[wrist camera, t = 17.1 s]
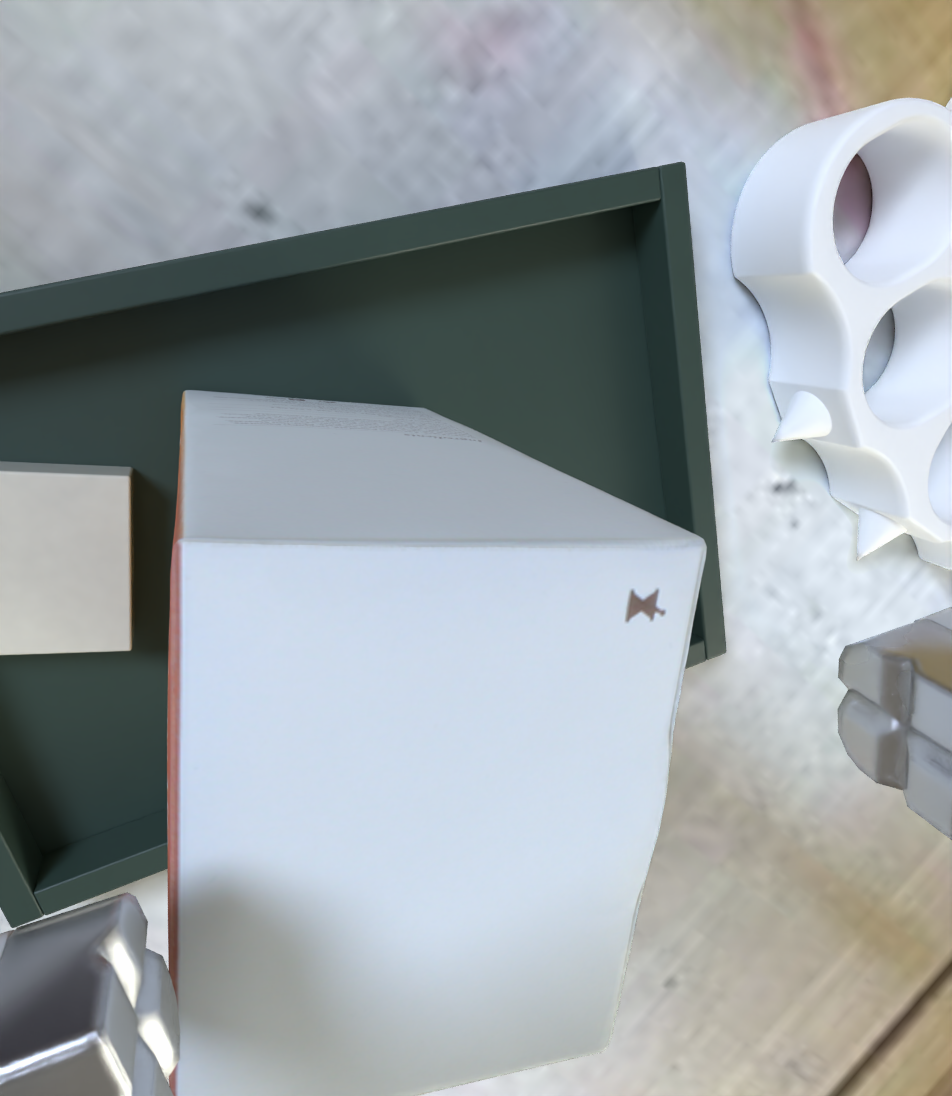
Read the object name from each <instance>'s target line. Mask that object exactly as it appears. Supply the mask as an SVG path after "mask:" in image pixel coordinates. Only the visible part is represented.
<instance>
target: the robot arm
mask: <svg viewBox="0 0 952 1096" xmlns="http://www.w3.org/2000/svg"><path fill="white" fill-rule="evenodd" d="M838 678H839V679H840V680H841V681H842V682H843V683H844V685H845V686H846V687H847V688H848V691H847V693H846V695H845V697H844V699H843V700H842V702H841V704H840V706H839V708H838V733H839V736H840V738H841V740H842V743H843V745H844V747H845V750H846V752H847V754H848V756H849V757H850V758H851V759H852V761H853V762H854V763H855V764H856V766H857V767H858V768H859V769H860V770H861V771H862V772H863V773H865V774H866V775H867V776H869V777H870V778H871V779H872V780H874V781H875V782H876V783H879V784H883V785H886V786H890V787H893V788H897V789H900V790H903V793H904V796H905V800H906V803H907V807H909V808H910V809H911V810H913V811H914V812H915V813H917V814H918V815H919V816H921V817H922V818H923V819H925V820H926V821H927V822H929V823H930V824H931V825H932V826H934V827H935V828H936V829H938V830H939V831H940V832H942V833H943V834H944V835H946V836H947V837H948V838H950V839H951V840H952V608H947V609H944V610H942V611H939V612H936V613H934V614H931V615H928V616H926V617H923V618H920V619H918V620H915V621H914V622H913V623H911V624H907V625H905V626H902V627H899V628H896V629H893V630H890V631H887V632H885V633H882V634H879V635H876V636H873V637H870V638H867V639H865V640H862V641H859V642H856V643H853V644H850V645H847V646H845V648H844V650H843V652H842V654H841V656H840V658H839V673H838ZM147 925H148V921H147V919H146V917H145V915H144V913H143V911H142V909H141V907H140V905H139V903H138V900H137V898H136V897H135V896H133V895H131V894H129V893H128V892H127V893H124V894H121V895H118V896H114V897H111V898H108V899H105V900H102V901H99V902H96V903H93V904H89V905H86V906H83V907H80V908H77V909H74V910H71V911H68V912H65V913H61V914H58V915H55V916H52V917H49V918H46V919H43V920H40V921H36V922H33V923H30V924H27V925H24V926H21V927H18V928H17V929H16V930H12V931H7V932H4V933H1V934H0V1096H174V1095H173V1093H172V1091H171V1089H170V1086H169V1084H168V1082H167V1079H168V1077H169V1076H170V1074H171V1072H172V1071H173V1069H174V1068H175V1066H176V1064H177V1063H178V1061H179V1059H180V1024H179V1016H178V1007H177V999H176V995H175V991H174V987H173V984H172V980H171V976H170V973H169V971H168V968H167V966H166V964H165V961H164V959H163V956H162V955H160V954H157V953H155V952H153V951H151V950H149V949H147V948H146V937H147Z"/></svg>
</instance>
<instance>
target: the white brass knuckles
mask: <svg viewBox="0 0 952 1096" xmlns="http://www.w3.org/2000/svg"><path fill="white" fill-rule="evenodd" d="M856 153H857V154H858V155H859V156H860V157H861V159H862V160H863V162H864V164H865V166H866V168H867V170H868V173H869V176H870V180H871V185H872V192H873V206H872V214H871V220H870V224H869V227H868V230H867V233H866V235H865V238H864V240H863V242H862V244H861V245H860V247H859V249H858V250H857V252H856V253H855V254H854V255H853V257H852V258H851V259H850V260H849V261H848V262H847V263H846V264H844V263H843V262H842V260H841V258H840V256H839V253H838V250H837V247H836V244H835V239H834V233H833V209H834V202H835V197H836V193H837V189H838V186H839V183H840V181H841V178H842V176H843V174H844V172H845V170H846V168H847V166H848V164H849V163H850V161H851V160H852V158H853V157H854V156H855V155H856ZM731 262H732V269H733V274H734V277H735V278H737V279H738V280H740V281H741V282H742V283H743V284H744V285H745V286H746V287H747V288H748V289H749V290H750V291H751V292H752V294H753V295H754V296H755V298H756V299H757V301H758V303H759V304H760V306H761V308H762V311H763V313H764V315H765V318H766V321H767V325H768V329H769V334H770V341H771V365H770V373H769V378H768V380H769V383H770V386H771V389H772V392H773V395H774V398H775V401H776V404H777V407H778V410H779V413H780V416H781V419H782V421H781V423H780V425H779V427H778V429H777V431H776V433H775V436H774V438H773V440H772V442H779V441H787V440H795V439H803V440H805V441H806V442H808V443H809V444H810V445H811V446H812V447H813V448H814V449H815V450H816V452H817V453H818V454H819V456H820V458H821V459H822V461H823V463H824V466H825V468H826V471H827V475H828V479H829V486H830V495H831V496H832V497H833V498H835V499H836V500H838V501H839V502H840V503H842V504H843V505H845V506H846V507H848V508H849V509H850V510H852V511H853V512H855V513H856V514H857V515H859V521H858V543H857V560H859V559H861V558H862V557H864V556H866V555H867V554H869V553H871V552H872V551H874V550H876V549H877V548H879V547H881V546H882V545H884V544H886V543H887V542H889V541H891V540H892V539H894V538H896V537H897V536H899V535H901V534H902V533H906V534H909V535H911V536H912V538H913V540H914V542H915V544H916V547H917V550H918V555H919V557H920V558H921V559H922V560H924V561H927V562H930V563H933V564H935V565H938V566H941V567H944V568H947V569H950V570H952V97H951V99H950V100H949V102H948V103H947V105H946V107H944V106H942V105H940V104H937V103H935V102H932V101H929V100H925V99H919V98H901V99H894V100H890V101H886V102H883V103H879V104H875V105H872V106H868V107H865V108H861V109H858V110H854V111H851V112H847V113H844V114H840V115H837V116H833V117H829V118H826V119H822V120H819V121H815V122H812V123H809V124H806V125H803V126H801V127H799V128H797V129H795V130H793V131H791V132H790V133H788V134H787V135H785V136H784V137H782V138H781V139H780V140H778V141H777V142H776V143H775V144H774V145H773V146H772V147H771V148H770V149H769V150H768V151H767V152H766V153H765V154H764V155H763V156H762V158H761V159H760V160H759V162H758V163H757V164H756V166H755V167H754V169H753V170H752V172H751V174H750V175H749V177H748V179H747V181H746V183H745V185H744V187H743V190H742V192H741V195H740V197H739V200H738V203H737V207H736V210H735V215H734V219H733V225H732V233H731ZM890 308H892V311H893V315H894V321H895V339H894V346H893V350H892V353H891V357H890V359H889V362H888V364H887V366H886V368H885V370H884V372H883V373H882V375H881V376H880V378H879V379H878V380H877V382H876V383H875V384H874V385H873V386H872V387H871V388H870V389H869V390H868V391H867V392H865V393H864V389H863V379H862V372H863V362H864V356H865V352H866V349H867V345H868V343H869V340H870V338H871V335H872V333H873V331H874V329H875V328H876V326H877V324H878V323H879V321H880V320H881V318H882V317H883V316H884V315H885V313H886V312H887V311H888V310H889V309H890Z"/></svg>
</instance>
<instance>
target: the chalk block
mask: <svg viewBox="0 0 952 1096" xmlns="http://www.w3.org/2000/svg"><path fill="white" fill-rule="evenodd" d="M133 638H134V470H133V468H132V467H120V466H97V465H74V464H51V463H28V462H5V461H0V655H21V654H52V653H82V652H113V651H130V650H131V649H132V645H133Z"/></svg>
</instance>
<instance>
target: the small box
mask: <svg viewBox="0 0 952 1096" xmlns="http://www.w3.org/2000/svg"><path fill="white" fill-rule="evenodd" d="M706 551H707V546H706V543H705V541H704V539H703V538H701V537H699V536H698V535H696V534H694V533H691V532H689V531H687V530H685V529H683V528H681V527H679V526H676V525H674V524H672V523H670V522H668V521H666V520H663V519H661V518H659V517H657V516H655V515H653V514H651V513H649V512H647V511H644V510H642V509H640V508H638V507H636V506H634V505H632V504H629V503H627V502H625V501H623V500H621V499H619V498H617V497H614V496H612V495H610V494H608V493H606V492H604V491H602V490H599V489H597V488H595V487H593V486H591V485H589V484H586V483H584V482H582V481H580V480H578V479H576V478H573V477H571V476H569V475H567V474H565V473H563V472H560V471H558V470H556V469H554V468H552V467H550V466H548V465H546V464H544V463H542V462H540V461H537V460H535V459H533V458H531V457H529V456H527V455H525V454H523V453H521V452H519V451H517V450H515V449H513V448H511V447H509V446H507V445H505V444H503V443H501V442H499V441H496V440H494V439H492V438H490V437H488V436H486V435H484V434H482V433H480V432H478V431H475V430H473V429H471V428H469V427H467V426H464V425H462V424H460V423H457V422H455V421H452V420H450V419H448V418H445V417H443V416H441V415H439V414H437V413H435V412H432V411H430V410H428V409H425V408H417V407H404V406H391V405H378V404H364V403H351V402H338V401H324V400H311V399H298V398H286V397H273V396H261V395H250V394H237V393H223V392H210V391H198V390H186V391H184V392H183V395H182V403H181V434H180V455H179V473H178V491H177V506H176V519H175V530H174V539H173V549H172V561H171V573H170V620H169V651H168V712H167V839H168V948H169V973H170V976H171V980H172V984H173V987H174V991H175V995H176V999H177V1007H178V1016H179V1024H180V1059H179V1061H178V1063H177V1064H176V1066H175V1068H174V1069H173V1071H172V1072H171V1074H170V1076H169V1086H170V1089H171V1091H172V1093H173V1095H174V1096H417V1095H422V1094H426V1093H430V1092H434V1091H438V1090H443V1089H447V1088H451V1087H455V1086H459V1085H464V1084H468V1083H472V1082H476V1081H480V1080H485V1079H489V1078H493V1077H497V1076H502V1075H506V1074H510V1073H514V1072H519V1071H523V1070H527V1069H531V1068H536V1067H540V1066H544V1065H548V1064H553V1063H557V1062H561V1061H565V1060H570V1059H574V1058H579V1057H583V1056H588V1055H593V1054H598V1053H601V1052H603V1051H605V1050H606V1049H607V1047H608V1045H609V1042H610V1040H611V1037H612V1034H613V1029H614V1023H615V1018H616V1015H617V1011H618V1007H619V1003H620V998H621V992H622V987H623V982H624V977H625V973H626V969H627V964H628V960H629V956H630V951H631V946H632V941H633V936H634V930H635V925H636V920H637V915H638V910H639V906H640V901H641V897H642V893H643V889H644V885H645V881H646V877H647V873H648V870H649V866H650V862H651V859H652V855H653V851H654V848H655V844H656V841H657V837H658V833H659V829H660V824H661V819H662V814H663V809H664V804H665V799H666V792H667V785H668V775H669V767H670V761H671V754H672V741H673V733H674V726H675V719H676V714H677V709H678V704H679V699H680V693H681V687H682V681H683V675H684V670H685V665H686V661H687V656H688V650H689V644H690V638H691V632H692V626H693V620H694V615H695V610H696V604H697V599H698V594H699V589H700V583H701V578H702V573H703V569H704V564H705V560H706Z"/></svg>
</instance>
